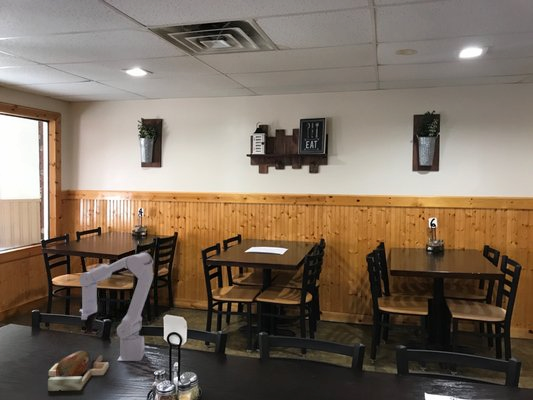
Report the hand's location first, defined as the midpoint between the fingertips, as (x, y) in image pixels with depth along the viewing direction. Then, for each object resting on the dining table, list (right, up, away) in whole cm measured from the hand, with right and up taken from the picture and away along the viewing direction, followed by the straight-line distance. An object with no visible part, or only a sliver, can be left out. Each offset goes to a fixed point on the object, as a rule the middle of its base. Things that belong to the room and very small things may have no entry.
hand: (89, 331), depth 184 cm
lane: (+3, -10, -19) cm, 22 cm away
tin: (+3, -11, -22) cm, 25 cm away
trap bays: (+3, -10, -18) cm, 21 cm away
